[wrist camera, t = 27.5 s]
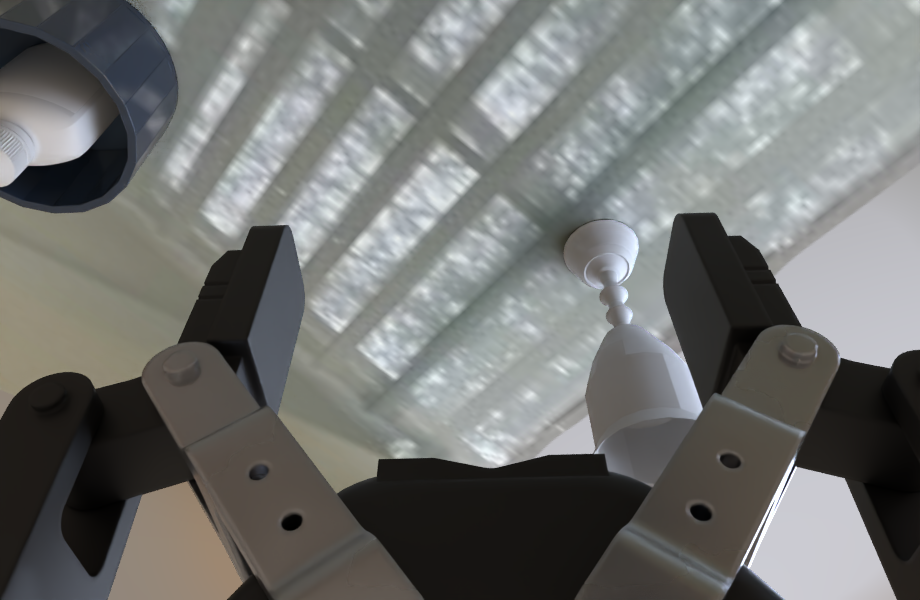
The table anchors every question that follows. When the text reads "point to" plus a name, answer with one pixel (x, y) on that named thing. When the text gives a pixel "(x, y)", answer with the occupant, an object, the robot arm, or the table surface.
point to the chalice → (630, 364)
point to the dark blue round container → (121, 74)
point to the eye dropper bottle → (48, 110)
